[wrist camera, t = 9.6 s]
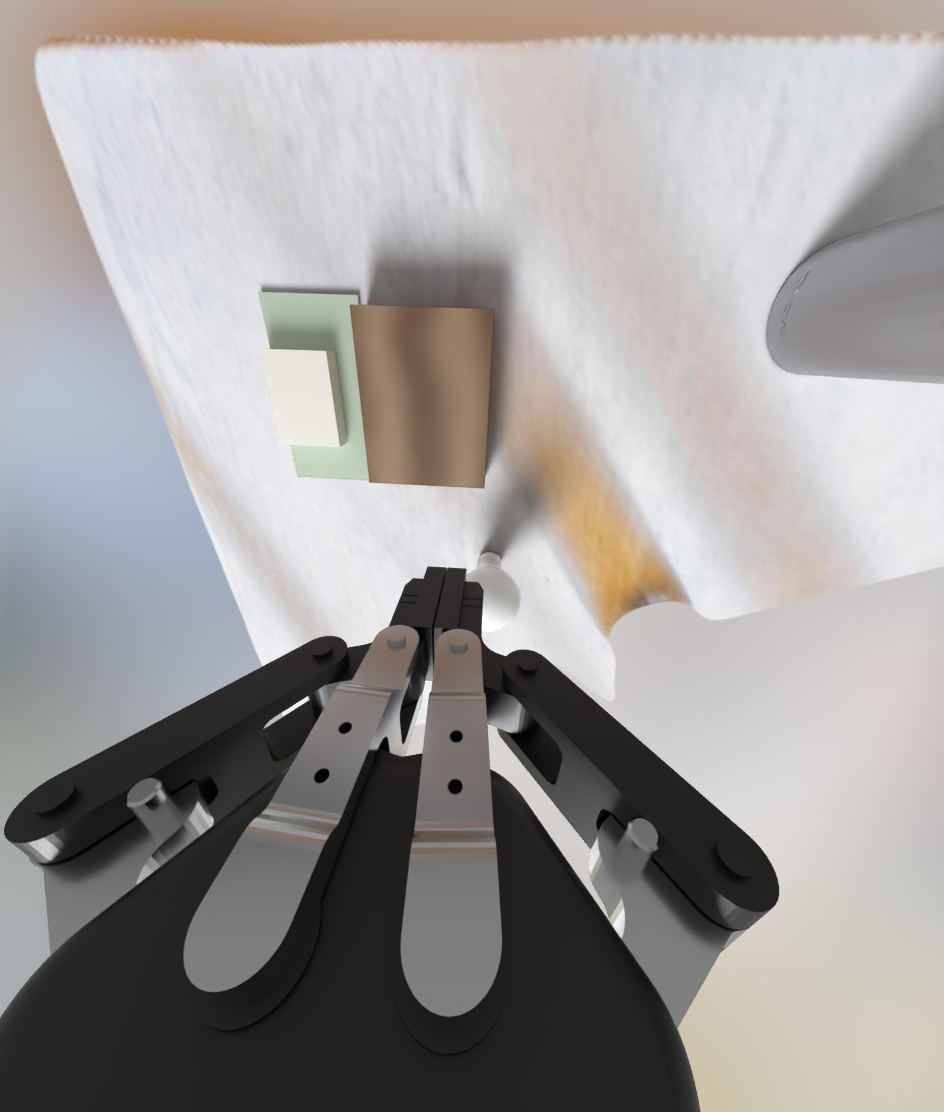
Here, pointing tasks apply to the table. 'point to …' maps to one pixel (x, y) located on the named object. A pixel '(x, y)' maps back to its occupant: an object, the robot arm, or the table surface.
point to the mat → (330, 329)
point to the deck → (424, 392)
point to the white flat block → (304, 396)
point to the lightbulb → (495, 592)
